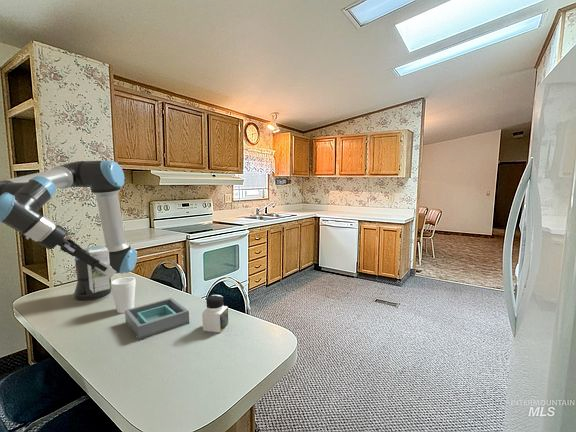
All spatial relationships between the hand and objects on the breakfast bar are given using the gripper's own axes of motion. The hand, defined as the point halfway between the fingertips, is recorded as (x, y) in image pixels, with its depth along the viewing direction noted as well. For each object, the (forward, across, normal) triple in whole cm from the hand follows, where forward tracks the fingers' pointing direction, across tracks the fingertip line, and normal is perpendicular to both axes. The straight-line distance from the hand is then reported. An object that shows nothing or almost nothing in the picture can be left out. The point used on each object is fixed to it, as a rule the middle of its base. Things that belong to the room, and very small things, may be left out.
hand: (111, 272), depth 107 cm
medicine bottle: (+36, +22, +4) cm, 43 cm away
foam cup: (+22, -19, -11) cm, 31 cm away
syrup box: (+1, 0, -6) cm, 7 cm away
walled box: (+26, +3, -7) cm, 27 cm away
